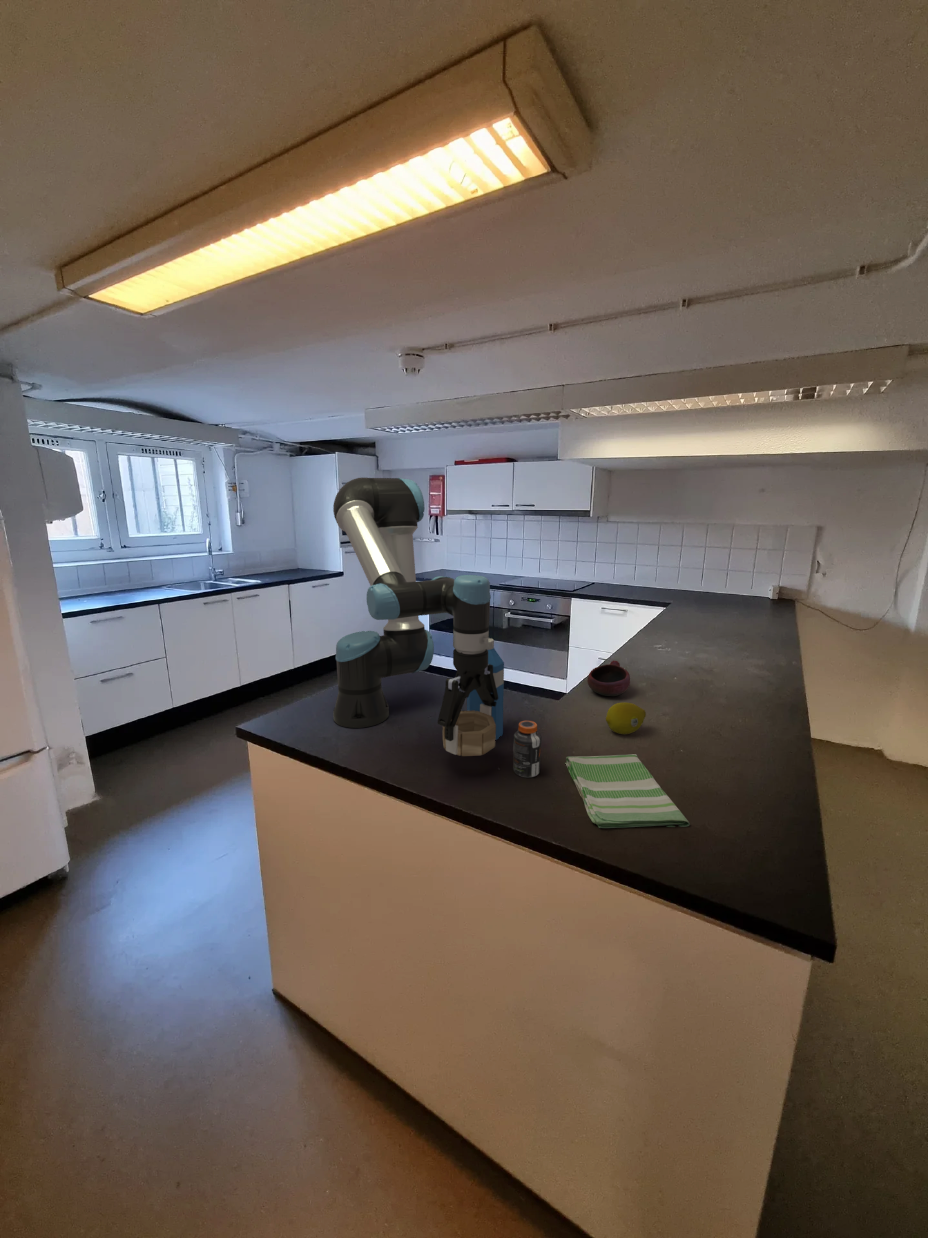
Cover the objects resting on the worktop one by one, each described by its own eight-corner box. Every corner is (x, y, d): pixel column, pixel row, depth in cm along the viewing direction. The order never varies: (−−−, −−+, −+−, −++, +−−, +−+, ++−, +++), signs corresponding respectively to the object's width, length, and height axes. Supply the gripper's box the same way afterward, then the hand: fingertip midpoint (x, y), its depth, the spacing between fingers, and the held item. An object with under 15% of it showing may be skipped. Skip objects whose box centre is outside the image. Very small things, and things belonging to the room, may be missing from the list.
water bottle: (500, 743, 120) (502, 646, 114) (463, 740, 122) (463, 644, 116) (504, 727, 129) (506, 636, 123) (470, 724, 131) (470, 634, 125)
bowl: (635, 701, 145) (637, 676, 144) (592, 701, 145) (593, 676, 143) (618, 682, 161) (620, 659, 159) (579, 682, 161) (580, 659, 159)
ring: (432, 743, 108) (432, 723, 107) (464, 725, 117) (464, 706, 115) (473, 761, 101) (473, 740, 100) (503, 740, 110) (504, 720, 109)
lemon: (609, 740, 122) (611, 710, 120) (598, 726, 129) (600, 698, 127) (651, 738, 122) (654, 709, 120) (638, 725, 130) (640, 697, 128)
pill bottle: (544, 776, 105) (546, 728, 103) (519, 780, 104) (520, 731, 101) (533, 762, 111) (534, 716, 108) (508, 766, 109) (509, 719, 107)
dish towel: (594, 832, 88) (595, 819, 87) (561, 765, 111) (562, 754, 110) (689, 829, 89) (691, 816, 88) (638, 763, 112) (639, 752, 111)
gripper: (448, 667, 92) (447, 769, 98) (516, 639, 110) (512, 727, 116) (419, 659, 97) (420, 757, 102) (489, 633, 115) (486, 718, 120)
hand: (469, 741), depth 109 cm, fingers closed on ring, 11 cm apart
